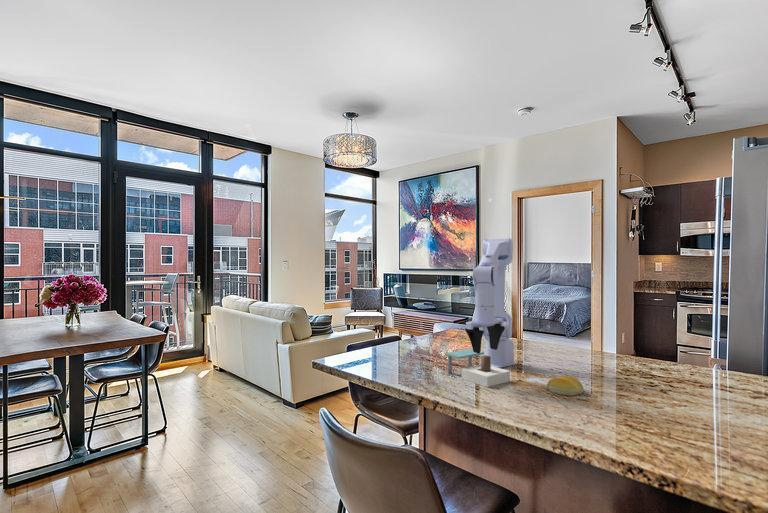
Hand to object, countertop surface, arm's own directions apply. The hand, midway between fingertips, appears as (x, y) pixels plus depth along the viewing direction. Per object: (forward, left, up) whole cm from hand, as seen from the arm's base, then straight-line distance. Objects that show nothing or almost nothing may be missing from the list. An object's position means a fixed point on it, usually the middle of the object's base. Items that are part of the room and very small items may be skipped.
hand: (485, 350), depth 119 cm
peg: (0, 0, -9) cm, 9 cm away
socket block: (0, 0, -9) cm, 9 cm away
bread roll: (-10, +19, -9) cm, 24 cm away
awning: (0, -9, -9) cm, 13 cm away
